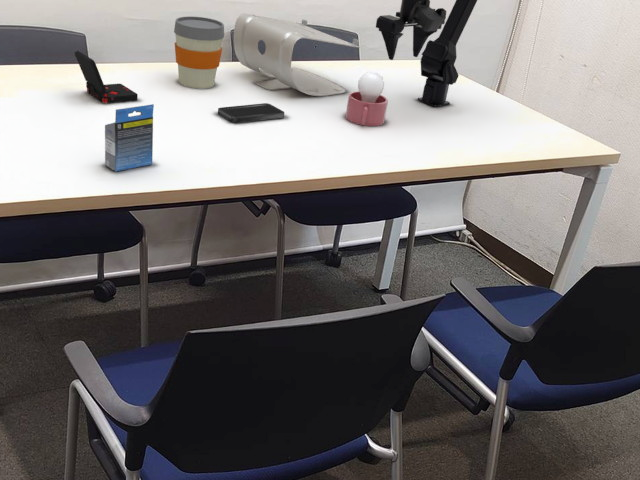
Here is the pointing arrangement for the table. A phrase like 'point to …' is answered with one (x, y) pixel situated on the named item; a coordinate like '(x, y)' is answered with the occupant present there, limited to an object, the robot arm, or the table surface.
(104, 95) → the handheld gaming console
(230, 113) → the phone
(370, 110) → the mug
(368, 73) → the lightbulb
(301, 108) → the table surface
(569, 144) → the table surface
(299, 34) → the beige plastic curved shell
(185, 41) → the reusable coffee cup
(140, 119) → the blue upright rectangular box
